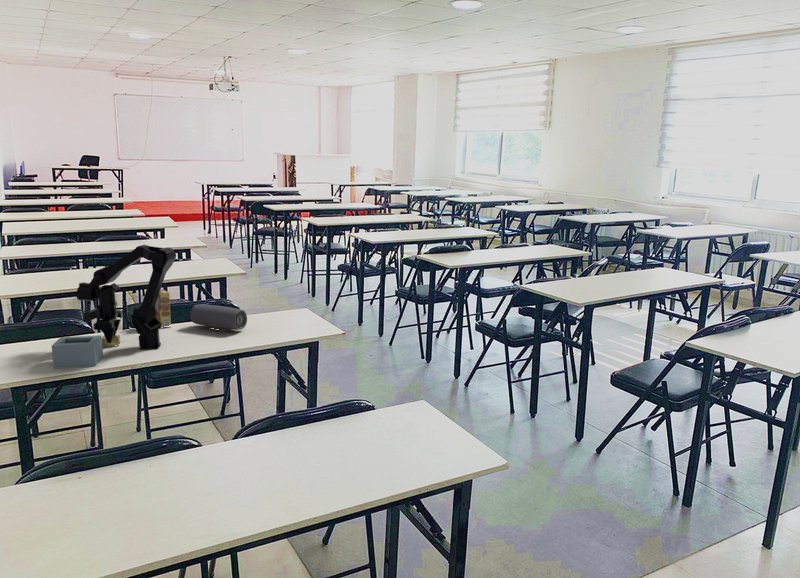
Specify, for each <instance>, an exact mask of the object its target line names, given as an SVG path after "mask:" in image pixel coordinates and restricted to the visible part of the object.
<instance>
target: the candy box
mask: <svg viewBox="0 0 800 578" xmlns="http://www.w3.org/2000/svg"><path fill="white" fill-rule="evenodd" d="M170 298H171V297H170V291H167V290H165V289H163V288H161V289H160V292H159V295H158V298H157V301H156V304H155V310H156V316H155V317H156V318H157V319H158V320H159V321H160V322H161V323H162V325H161V327H164V326H169V325H171V326H172V321H171V303H170V302H171V299H170Z"/></svg>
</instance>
